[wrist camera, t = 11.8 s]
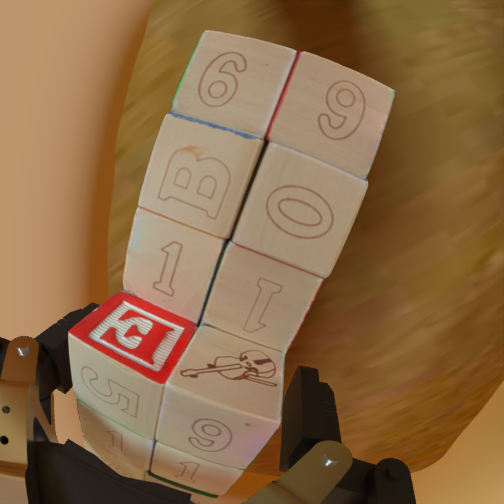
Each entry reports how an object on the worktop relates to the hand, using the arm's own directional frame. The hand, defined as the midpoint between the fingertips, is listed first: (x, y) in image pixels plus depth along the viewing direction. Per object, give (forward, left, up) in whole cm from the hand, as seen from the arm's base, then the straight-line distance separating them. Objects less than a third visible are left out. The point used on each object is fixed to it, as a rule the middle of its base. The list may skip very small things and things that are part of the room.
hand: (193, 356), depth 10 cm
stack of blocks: (-1, 0, -9) cm, 9 cm away
